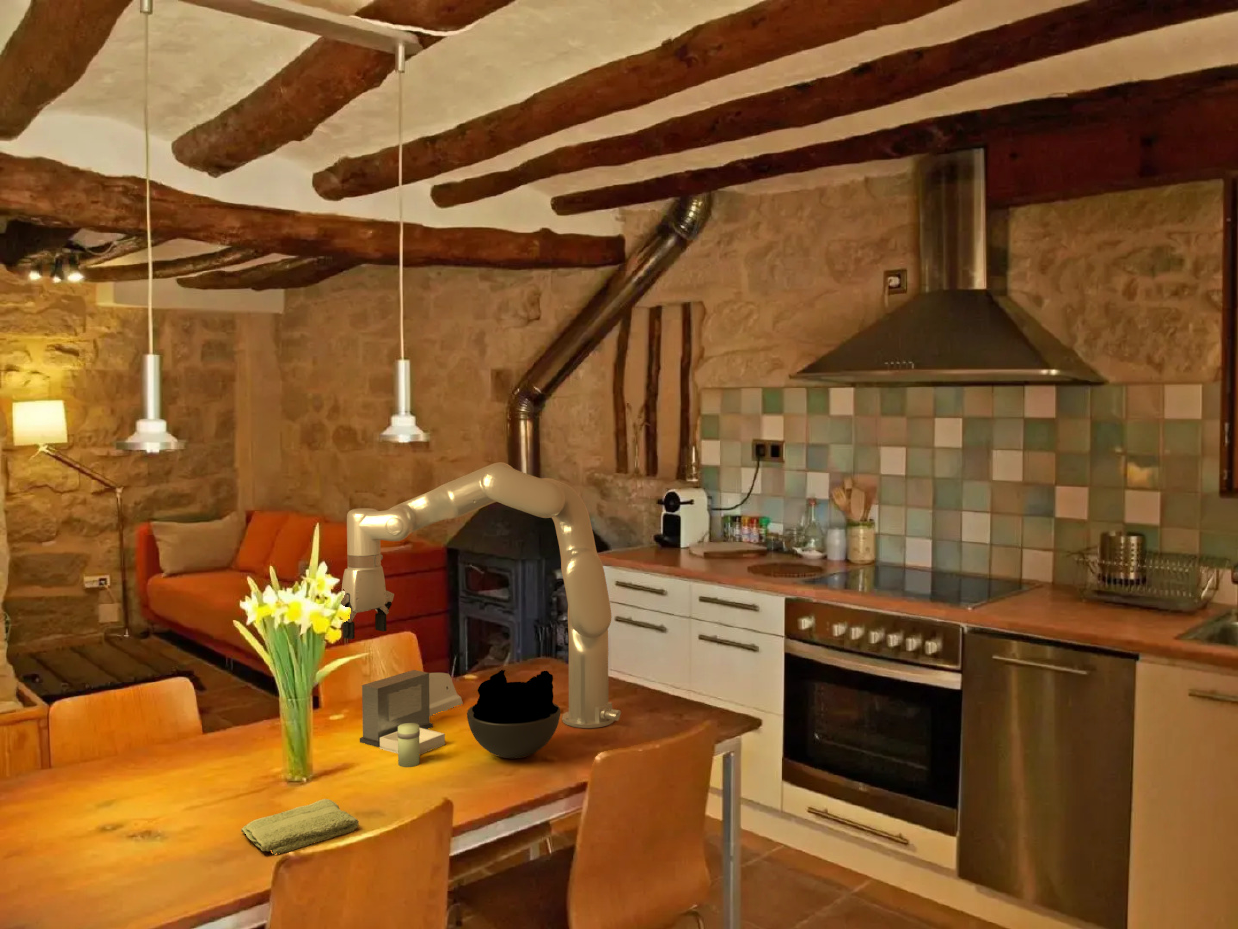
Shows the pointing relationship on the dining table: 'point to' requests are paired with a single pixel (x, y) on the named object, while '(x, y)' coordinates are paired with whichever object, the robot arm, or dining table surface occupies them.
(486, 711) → the coal bowl
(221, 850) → the dining table surface
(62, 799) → the dining table surface
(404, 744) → the olive green jar
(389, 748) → the parts tray
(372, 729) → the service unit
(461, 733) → the dining table surface
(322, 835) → the washcloth
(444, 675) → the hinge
